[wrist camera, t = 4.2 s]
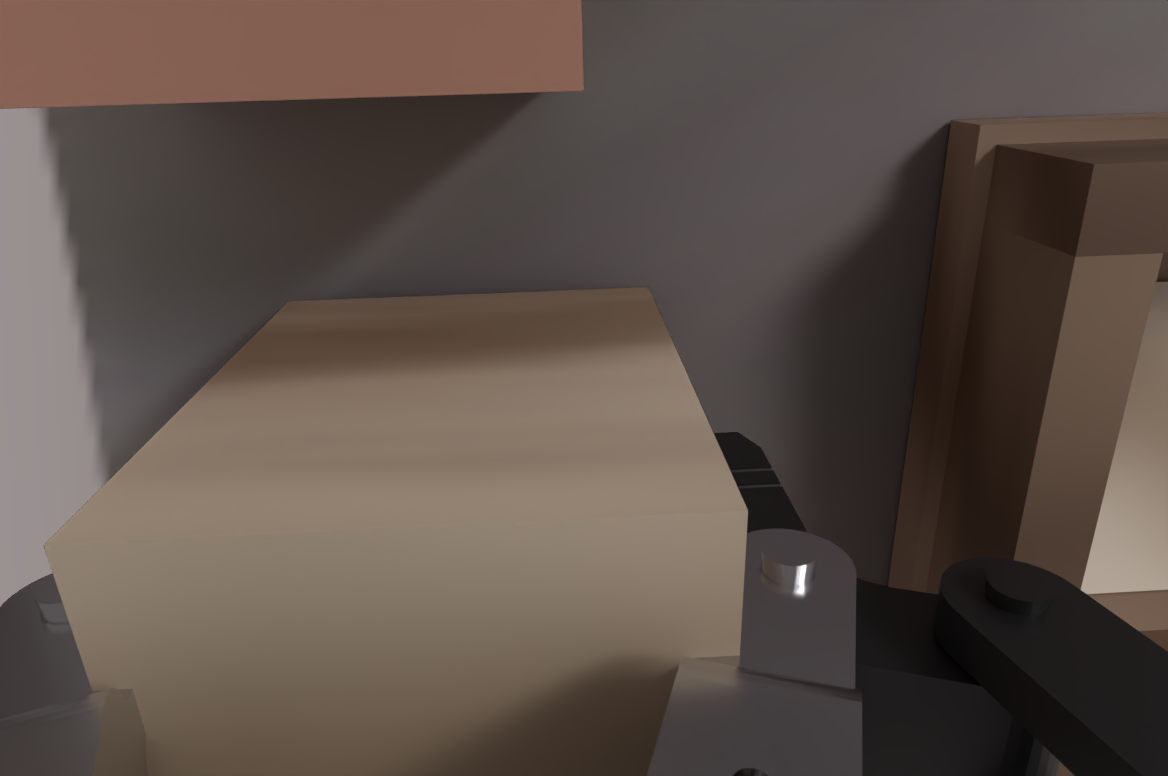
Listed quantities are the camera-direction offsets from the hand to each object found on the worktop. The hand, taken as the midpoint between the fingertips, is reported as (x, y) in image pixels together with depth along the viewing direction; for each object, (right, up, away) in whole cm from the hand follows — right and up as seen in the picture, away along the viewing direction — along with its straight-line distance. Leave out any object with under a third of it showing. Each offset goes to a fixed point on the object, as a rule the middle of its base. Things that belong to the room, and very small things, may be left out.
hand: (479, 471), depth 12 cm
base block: (0, 0, 0) cm, 0 cm away
